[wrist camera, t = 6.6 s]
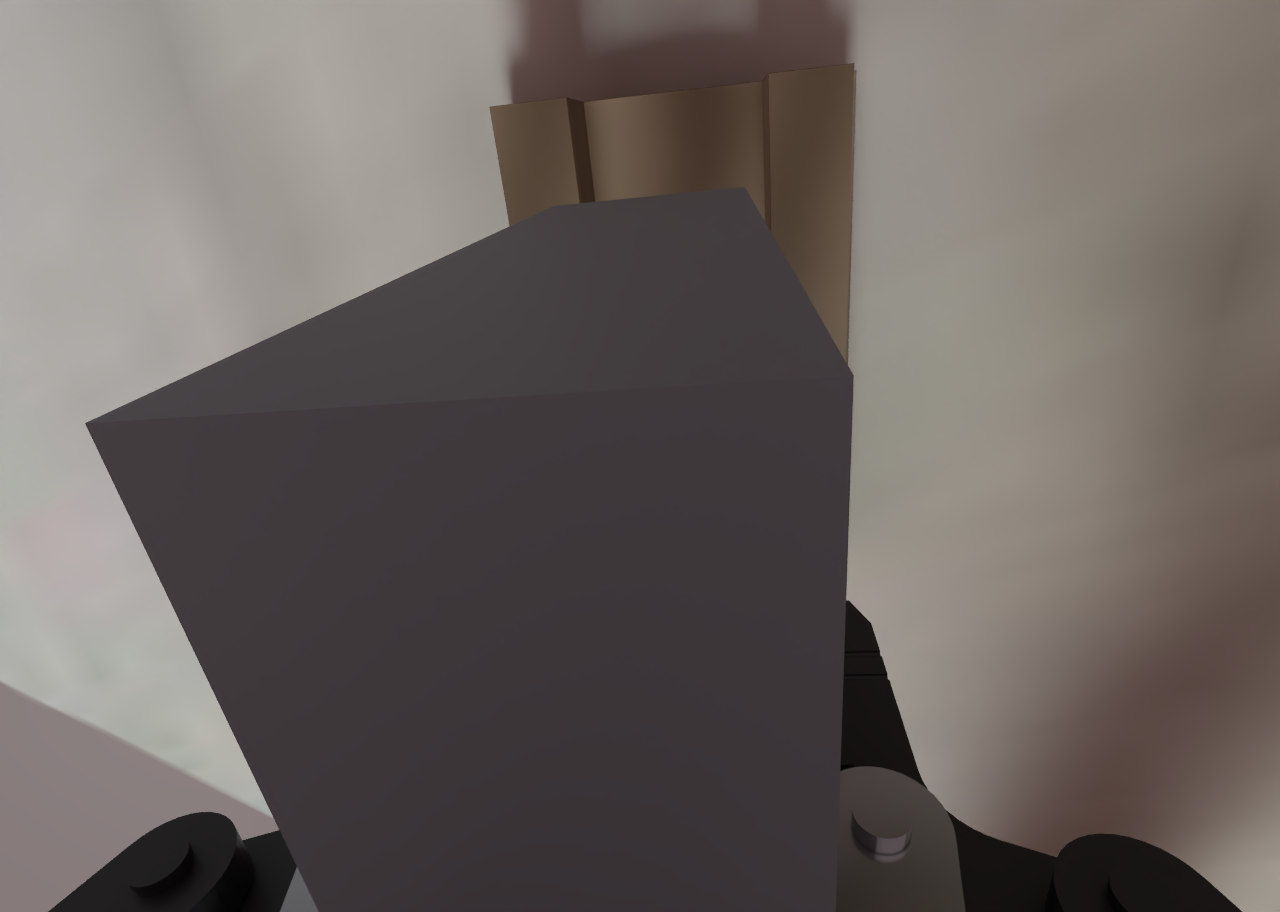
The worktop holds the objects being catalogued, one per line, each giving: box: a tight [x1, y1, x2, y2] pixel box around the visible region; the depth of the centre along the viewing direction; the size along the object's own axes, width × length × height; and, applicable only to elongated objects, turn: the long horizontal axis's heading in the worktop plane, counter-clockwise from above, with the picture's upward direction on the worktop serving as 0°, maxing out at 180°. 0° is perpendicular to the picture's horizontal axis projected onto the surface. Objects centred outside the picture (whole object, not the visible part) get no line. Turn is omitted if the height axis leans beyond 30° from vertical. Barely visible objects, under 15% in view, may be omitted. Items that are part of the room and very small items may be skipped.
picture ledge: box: [490, 63, 856, 365], centre depth 22 cm, size 10×16×4 cm, turn 6°
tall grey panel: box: [85, 187, 854, 912], centre depth 9 cm, size 3×12×9 cm, turn 6°
